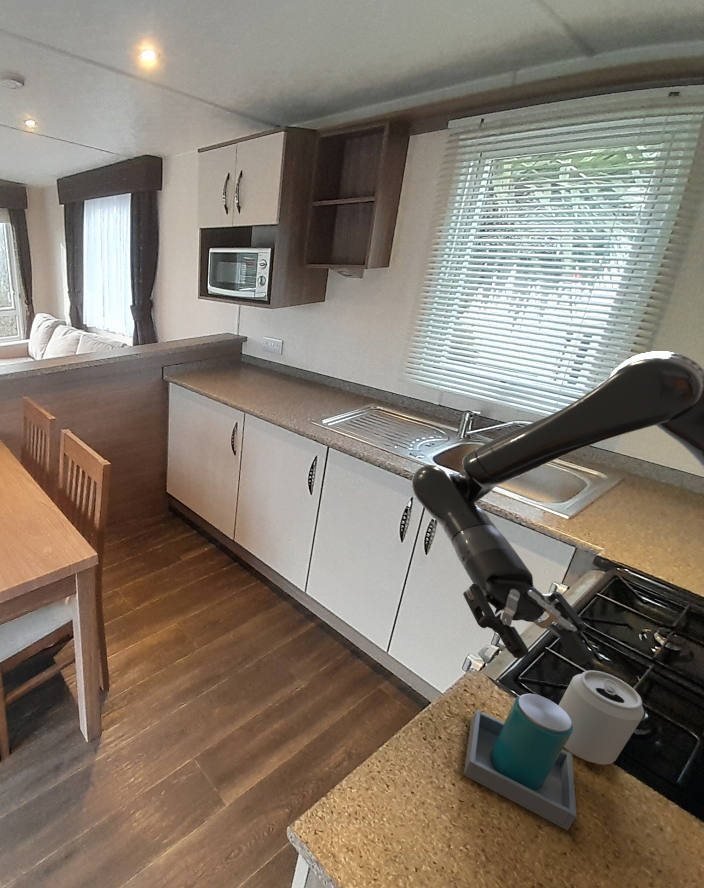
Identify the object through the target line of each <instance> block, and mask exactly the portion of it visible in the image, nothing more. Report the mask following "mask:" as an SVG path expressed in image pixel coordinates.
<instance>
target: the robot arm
mask: <svg viewBox="0 0 704 888" xmlns="http://www.w3.org/2000/svg"><path fill="white" fill-rule="evenodd" d="M653 426H656V427H657V428H659V429H660V430H661V431H663V432H664V433H665V434H667V435H668V436H669V437H671V438H673V439H674V441H676V442H677V443H678V444H680V445H681V446H682V447H683V448H684V449H685V450H687V452H689V453H690V455H691V456H692V457H693V458H694V459H695V460H696V461H697V463H698V464H699V465H700V466H701V468H702V469H703V470H704V367H702V366H701V365H700V364H699V363H698V362H697V361H695V360H693V359H692V358H690V357H688V356H685V355H683V354H680V353H675V352H670V351H650V352H645V353H640V354H637V355H635V356H632V357H630V358H628V359H626V360H624V361H623V362H622V363H621V364H619V365H618V366H617V367H616V368H614V370H613V371H612V372H611V373H610V374H609V375H608V376H607V377H606V379H605V380H604V381H602V382H601V383H600V384H598V385H597V386H596V387H594V388H593V389H591V390H590V391H589V392H587V393H586V394H584V395H583V396H581V397H580V398H578V399H577V400H575V401H574V402H572V403H570V404H569V405H566V406H565V407H564V408H561V409H560V410H558V411H556V412H554V413H552V414H550V415H548V416H546V417H543V418H540V419H539V420H536V421H533V422H532V423H529V424H526V425H523V426H521V427H518V428H516V429H513V430H511V431H509V432H507V433H504V434H502V435H501V436H498V437H496V438H494V439H492V440H491V441H488V442H486V443H484V444H482V445H481V446H478V447H477V448H475V449H473V450H471V451H469V452H468V453H467V454H465V456H463V458H462V468H463V470H464V471H461V472H459V473H456V472H455V471H452V470H450V469H449V468H446V467H443V466H440V465H436V464H428V465H424V466H421V467H420V468H418V469H417V470H416V471H414V474H413V476H412V479H411V488H412V492H413V494H414V496H415V498H416V499H417V501H418V502H419V503H420V505H421V506H422V507H423V508H424V509H425V510H426V511H427V513H428V514H429V515H430V516H431V517H432V518H433V519H434V520H435V521H436V522H437V523H438V524H439V525H440V526H441V528H442V529H443V532H444V534H445V535H446V537H447V538H448V540H449V542H450V544H451V545H452V547H453V549H454V552H455V554H456V557H457V558H458V560H459V562H460V563H461V565H462V566H463V568H464V570H465V571H466V574H467V575H468V577H469V579H470V580H471V582H472V584H471V585H470V586H469V587H468V588H466V590H464V592H463V593H462V595H463V597H464V600H465V601H466V603H467V605H468V607H469V610H470V611H471V613H472V615H473V618H474V619H475V621H476V623H477V625H478V626H479V628H482V629H487V628H489V629H490V630H491V629H492V631H493V632H494V633H496V634H497V635H498V636H499V638H500V640H501V642H502V643H503V645H504V647H505V648H506V650H507V651H508V652H509V653H510V654H511V655H512V657H513V658H514V659H523V658H525V657H526V656H527V655H529V653H530V651H529V648H528V646H527V645H526V643H525V642H524V640H523V638H522V637H521V635H520V633H519V632H518V631H517V629H516V627H515V626H511V625H512V622H513V621H524V622H527V623H528V622H529V623H534V624H535V625H536V626H538V628H541V629H546V630H548V631H549V632H550V633H552V634H553V635H555V636H556V637H557V638H558V641H559V642H560V644H561V645H562V647H563V648H564V650H565V651H566V653H567V654H568V656H569V657H570V659H571V660H572V662H573V663H574V664H576V665H584V664H586V663H588V662H590V661H591V660H592V655H591V652H590V650H589V649H588V648H587V646H586V644H584V642H583V641H582V639H581V638H580V636H579V635H578V634H580V633H581V632H582V631H584V630H586V629H587V627H588V625H586V623H585V622H584V621H583V620H582V618H581V617H580V616H579V614H578V613H577V612H576V611H575V609H574V608H573V607H572V606H571V605H570V603H569V602H568V601H567V599H566V598H565V597H564V596H563V595H562V593H560V592H559V591H553V592H552V593H550V594H544V593H543V594H542V592H540V591H539V590H538V589H537V588H536V587H535V586H534V578H533V575H532V572H531V571H530V569H528V567H527V566H526V564H525V563H524V561H523V560H522V558H521V557H520V556H519V554H518V553H517V551H516V550H515V549H514V547H513V546H512V544H511V543H510V542H509V540H508V539H507V538H506V536H505V535H504V534H503V533H501V531H500V530H499V529H498V528H497V527H496V525H495V524H494V522H493V520H492V519H491V518H490V517H489V515H488V513H486V511H485V510H484V509H483V508H482V507H481V506H479V505H477V504H476V503H477V502H479V501H480V500H481V499H483V498H484V497H485V496H487V495H488V494H489V493H491V492H492V491H493V490H494V489H495V488H496V487H498V486H500V485H502V484H505V483H507V482H509V481H511V480H515V479H516V478H518V477H521V476H523V475H525V474H528V473H530V472H532V471H534V470H536V469H538V468H540V467H543V466H545V465H547V464H549V463H552V462H553V461H556V460H558V459H560V458H562V457H564V456H567V455H569V454H571V453H573V452H576V451H579V450H581V449H583V448H586V447H590V446H592V445H595V444H597V443H600V442H603V441H607V440H609V439H612V438H615V437H618V436H622V435H625V434H630V433H632V432H636V431H640V430H644V429H646V428H650V427H653ZM491 606H492V607H493V608H494V609H492V607H491ZM544 612H545V613H547V614H548V616H546V617H545V618H542V616H543V615H544ZM568 619H570V621H571V622H569V620H568ZM553 622H554V623H556V624H558V625H559V626H560V627H561V628H560V627H558V626H557V625H556V624H554V623H553Z"/></svg>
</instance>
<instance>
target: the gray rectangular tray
mask: <svg viewBox="0 0 704 888" xmlns="http://www.w3.org/2000/svg"><path fill="white" fill-rule="evenodd" d="M474 711H475V712H474V714H473V716H472V718H471V720H470V725H469V733H468V739H467V740H468V741H467V748H466V754H465V762H464V770H463V776H465V777H466V778H468V779H470V780H472V781H474V782H476V783H478V784H479V785H482V786H483V787H485V788H487V789H489V790H491V791H492V792H494V793H496V794H498V795H500V796H502V797H503V798H506V799H507V800H510V801H511V802H514V803H515V804H517V805H519V806H520V807H523V808H524V809H527V810H528V811H530V812H532V813H534V814H535V815H537V816H540V817H541V818H543V819H545V820H547V821H549V822H550V823H552V824H554V825H556V826H558V827H560V828H561V829H564V830H566V831H568V830H569V829H570V827H571V826H572V824H573V823H574V821H575V820H576V819H577V806H576V805H577V804H576V791H575V790H576V789H575V775H574V774H575V773H574V760H573V759H574V758H573V754H572V753H570V752H569V751H568V750H566V749H563V750H562V751H561V753H560V755H559V757H558V759H557V760H556V762H555V764H554V766H553V768H552V769H551V771H550V773H549V775H548V777H547V778H546V780H545V782H544V784H543V786H542V787H541V788H540V789H538V790H535V791H533V790H531V789H529V788H527V787H525V786H523V785H521V784H519V783H517V782H515V781H514V780H512V779H510V778H508V777H506V776H504V775H502V774H500V773H498V772H497V771H496V770H495V768H494V767H493V765H492V763H491V760H490V753H491V751H492V749H493V747H494V744H495V742H496V740H497V738H498V736H499V734H500V732H501V729H502V727H503V725H504V723H505V721H502V720H500V719H498V718H496V717H494V716H491V715H489V714H487V713H485V712H483V711H480V710H478V709H475V710H474Z"/></svg>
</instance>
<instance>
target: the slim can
mask: <svg viewBox="0 0 704 888" xmlns="http://www.w3.org/2000/svg"><path fill="white" fill-rule="evenodd" d="M558 705H559V704H557V703H555V701H552V700H551V699H549V698H546V697H544V696H542V695H539V694H534V693H525V694H521V695H519V696H516V697H515V699H514V701H513V704H512V706H511V708H510V709H509V712H508V714H507V716H506V718H505V721H504V725H503V727H502V729H501V732H500V734H499V736H498V738H497V740H496V742H495V744H494V747H493V749H492V751H491V753H490V760H491V763H492V765H493V767H494V768H495V770H496V771H497V772H498V773H500V774H502V775H504V776H506V777H508V778H510V779H512V780H514V781H515V782H517V783H519V784H521V785H523V786H525V787H527V788H529V789H531V790H533V791H535V790H538V789H540V788H541V787H542V786H543V784H544V782H545V780H546V778H547V777H548V775H549V773H550V771H551V769H552V768H553V766H554V764H555V762H556V760H557V759H558V757H559V755H560V753H561V751H562V750H564V749H565V748H564V746H565V744H566V742H567V740H568V739H569V737H570V735H571V733H572V731H573V726H572V723H571V720H570V718H569V716H568V714H567V713H566V712H565V711H564V710H563V709H562V708H561V707H560V706H558Z"/></svg>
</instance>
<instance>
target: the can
mask: <svg viewBox="0 0 704 888" xmlns="http://www.w3.org/2000/svg"><path fill="white" fill-rule="evenodd" d="M557 705H558V706H560V707H561V708H562V709H563V710H564V711H565V712H566V713H567V714H568V716H569V718H570V720H571V723H572V726H573V731H572V733H571V735H570V737H569V739H568V740H567V742H566V744H565V746H564V748H563V749H564V750H566V751H567V752H569V753H571V754H572V755H573V756H575V757H577V758H579V759H581V760H584V761H586V762H589V763H594V764H597V765H603V766H604V765H611V764H613V763H614V762H616V761H617V760H618V757H619V756H620V754H621V752H622V751H623V749H624V747H625V746H626V744H627V743H628V742H629V740H630V738H631V737H632V735H633V734H634V732H635V730H636V728H637V727H638V726H639V724H640V722H641V721H642V719H643V717H644V714H645V710H644V707H643V700H642V697H641V695H640V694H639V693H638V692H637V691H636V689H634V688H633V687H632V686H631V685H629V684H628V683H626V682H625V681H623V680H622V679H620V678H618V677H616V676H615V675H612V674H609V673H606V672H604V671H600V670H594V669H591V670H590V669H589V670H585V671H583V672H582V673H577V674H576V675H574V676H572V678H571V680H570V682H569V685H568V687H567V688H566V690H565V691H564V694H563V696H562V698H561V700H560V701H559V703H558V704H557Z"/></svg>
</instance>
